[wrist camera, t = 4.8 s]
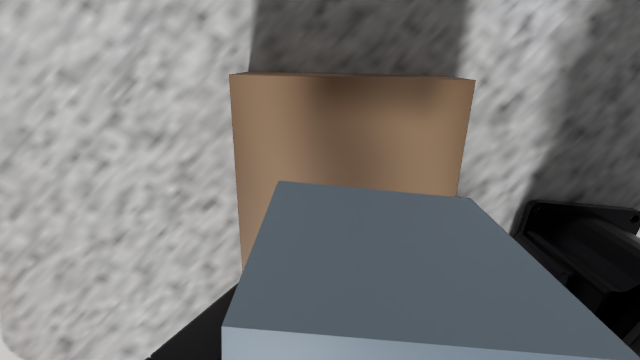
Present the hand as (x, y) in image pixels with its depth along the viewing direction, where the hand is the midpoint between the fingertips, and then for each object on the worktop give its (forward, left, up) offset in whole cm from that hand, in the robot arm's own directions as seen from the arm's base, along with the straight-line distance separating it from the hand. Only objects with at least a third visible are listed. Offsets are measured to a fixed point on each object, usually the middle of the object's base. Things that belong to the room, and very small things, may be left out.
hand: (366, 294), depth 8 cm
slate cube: (0, 0, -1) cm, 1 cm away
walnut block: (0, 0, -11) cm, 11 cm away
